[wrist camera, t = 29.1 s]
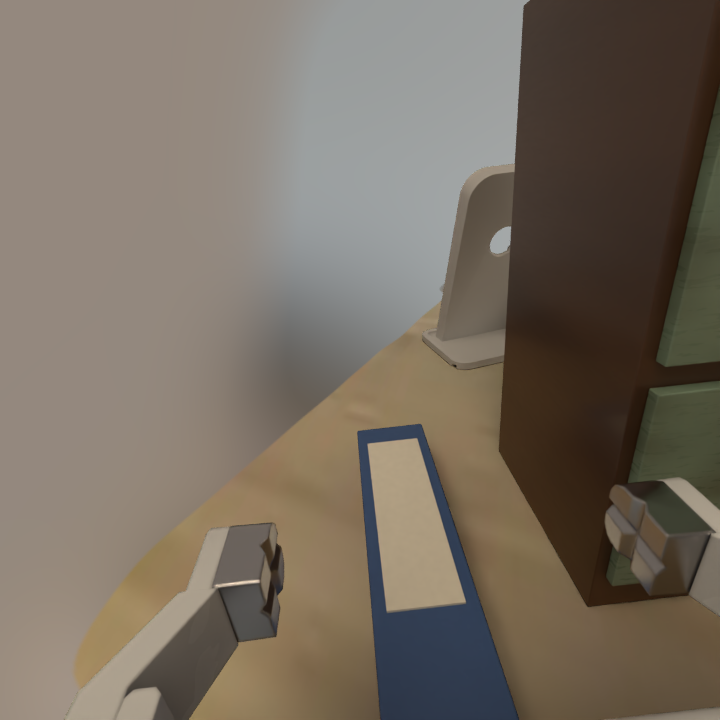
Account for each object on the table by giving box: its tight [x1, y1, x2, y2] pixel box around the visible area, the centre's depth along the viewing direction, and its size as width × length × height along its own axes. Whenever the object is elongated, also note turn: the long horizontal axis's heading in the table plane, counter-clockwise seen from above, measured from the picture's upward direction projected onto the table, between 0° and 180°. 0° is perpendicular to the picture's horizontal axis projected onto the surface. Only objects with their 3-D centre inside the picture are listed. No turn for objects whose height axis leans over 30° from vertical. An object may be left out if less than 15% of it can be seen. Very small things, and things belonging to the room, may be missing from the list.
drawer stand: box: [499, 0, 720, 606], centre depth 17 cm, size 12×13×30 cm
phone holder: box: [422, 164, 515, 370], centre depth 43 cm, size 17×10×18 cm, turn 106°
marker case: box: [357, 424, 519, 720], centre depth 20 cm, size 4×20×3 cm, turn 3°
